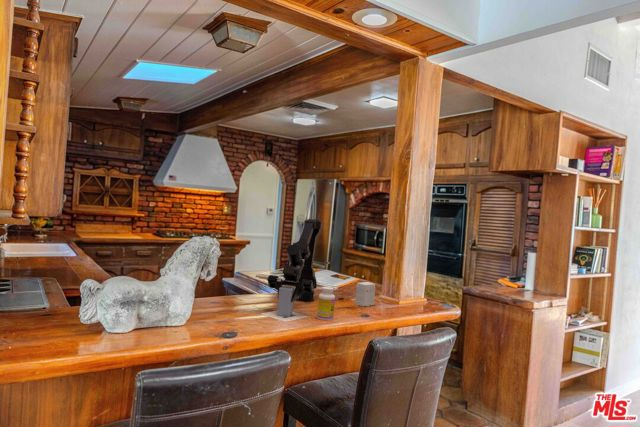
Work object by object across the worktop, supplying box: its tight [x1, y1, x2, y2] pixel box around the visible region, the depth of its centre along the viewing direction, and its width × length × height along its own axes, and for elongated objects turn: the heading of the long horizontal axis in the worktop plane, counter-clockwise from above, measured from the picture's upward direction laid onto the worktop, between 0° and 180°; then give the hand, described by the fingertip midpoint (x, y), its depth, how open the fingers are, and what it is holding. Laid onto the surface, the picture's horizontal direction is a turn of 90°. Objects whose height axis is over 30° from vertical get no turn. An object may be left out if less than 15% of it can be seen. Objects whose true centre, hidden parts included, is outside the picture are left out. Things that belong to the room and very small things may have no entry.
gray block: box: [276, 285, 295, 317], centre depth 172 cm, size 5×5×11 cm
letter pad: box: [260, 309, 310, 323], centre depth 172 cm, size 14×14×1 cm
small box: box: [354, 281, 376, 308], centre depth 206 cm, size 8×6×10 cm
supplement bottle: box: [316, 286, 336, 321], centre depth 173 cm, size 7×7×13 cm
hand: (284, 301), depth 171 cm, fingers closed on gray block, 5 cm apart
